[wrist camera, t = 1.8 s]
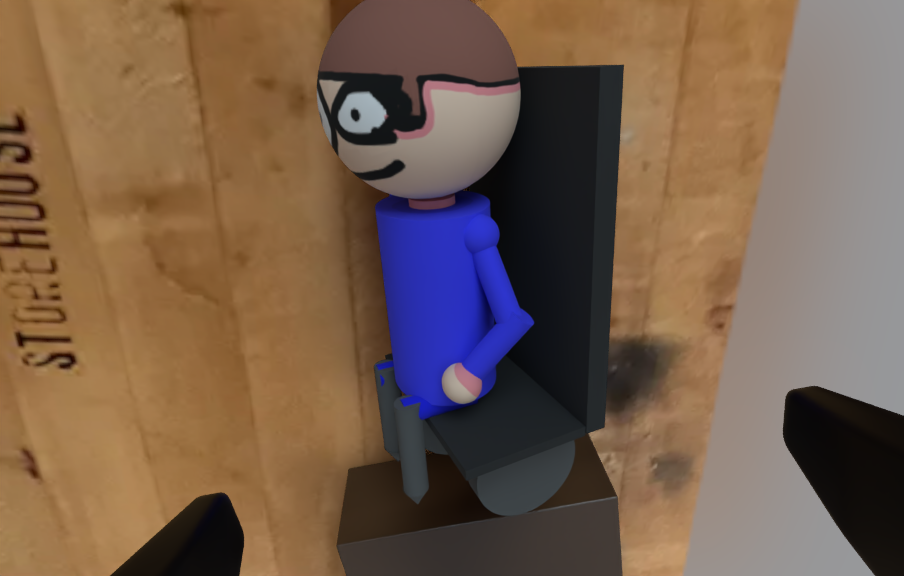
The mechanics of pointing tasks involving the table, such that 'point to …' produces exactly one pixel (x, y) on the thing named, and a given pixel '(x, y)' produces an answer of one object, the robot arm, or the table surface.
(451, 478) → the walnut block
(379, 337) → the table surface
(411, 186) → the character figurine
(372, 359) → the table surface
